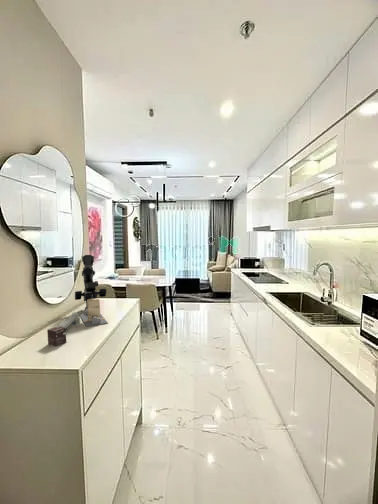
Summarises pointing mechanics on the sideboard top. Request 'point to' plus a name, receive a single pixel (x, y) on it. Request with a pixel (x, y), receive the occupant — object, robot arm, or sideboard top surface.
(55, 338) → the box
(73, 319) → the grey flashlight
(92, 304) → the notched wooden block
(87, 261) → the robot arm
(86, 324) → the grey board
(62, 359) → the sideboard top surface
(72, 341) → the sideboard top surface
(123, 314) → the sideboard top surface
